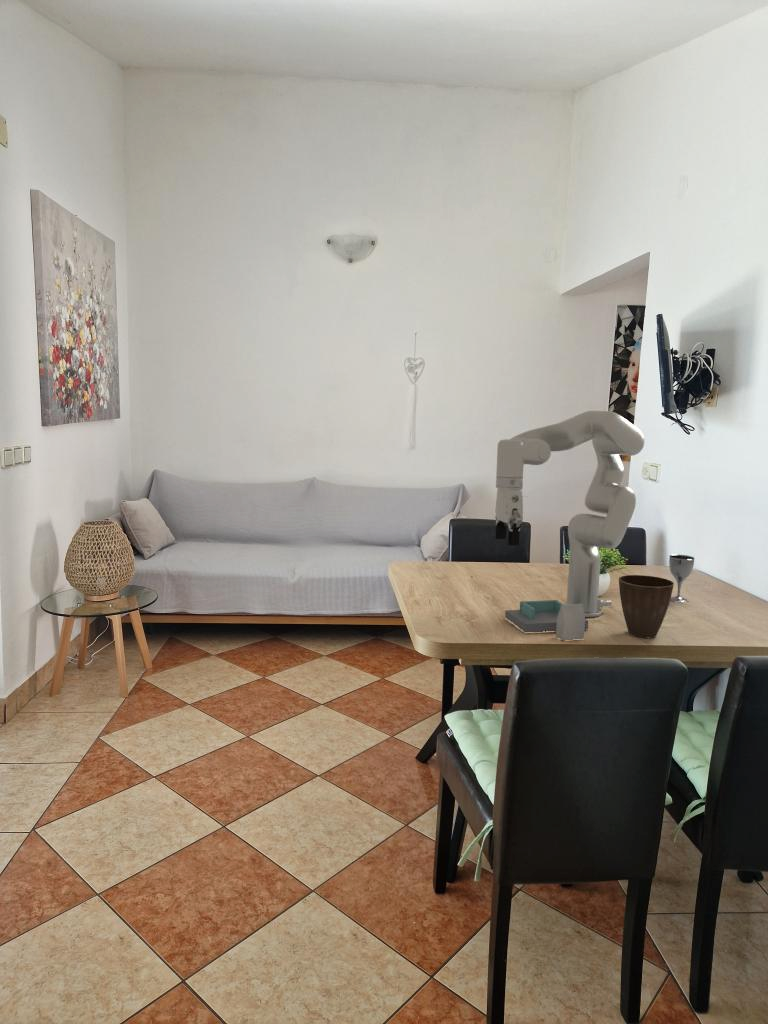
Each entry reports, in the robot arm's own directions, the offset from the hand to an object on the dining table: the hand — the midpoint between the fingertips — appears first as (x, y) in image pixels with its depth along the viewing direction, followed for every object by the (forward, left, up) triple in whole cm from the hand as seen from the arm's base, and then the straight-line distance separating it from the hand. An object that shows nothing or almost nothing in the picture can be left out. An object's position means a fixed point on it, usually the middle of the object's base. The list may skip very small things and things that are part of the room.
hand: (506, 541), depth 210 cm
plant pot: (-38, +13, -26) cm, 48 cm away
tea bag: (-15, +13, -26) cm, 33 cm away
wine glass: (-74, -20, -26) cm, 81 cm away
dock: (-14, 0, -26) cm, 29 cm away
